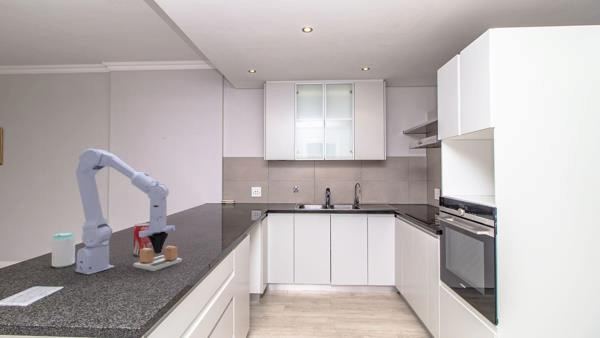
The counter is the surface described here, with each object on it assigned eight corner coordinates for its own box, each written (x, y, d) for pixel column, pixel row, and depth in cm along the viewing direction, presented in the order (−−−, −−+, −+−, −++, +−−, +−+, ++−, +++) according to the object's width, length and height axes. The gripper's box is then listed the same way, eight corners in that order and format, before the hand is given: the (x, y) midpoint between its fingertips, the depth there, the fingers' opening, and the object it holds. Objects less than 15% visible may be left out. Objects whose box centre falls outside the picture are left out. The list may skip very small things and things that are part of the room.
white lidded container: (62, 269, 114) (62, 236, 114) (46, 267, 115) (46, 235, 115) (79, 263, 120) (79, 232, 121) (64, 262, 122) (64, 231, 122)
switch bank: (153, 271, 111) (153, 267, 111) (133, 266, 116) (133, 263, 116) (181, 261, 123) (181, 258, 123) (162, 258, 128) (162, 254, 128)
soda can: (155, 252, 137) (155, 222, 137) (145, 256, 130) (145, 225, 130) (140, 251, 138) (140, 222, 138) (129, 256, 131) (129, 225, 131)
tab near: (171, 260, 119) (171, 247, 119) (164, 258, 121) (164, 246, 121) (177, 258, 122) (177, 246, 122) (170, 257, 124) (170, 245, 124)
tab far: (146, 262, 116) (146, 250, 116) (139, 261, 118) (139, 248, 118) (153, 260, 119) (153, 248, 119) (146, 259, 120) (146, 247, 120)
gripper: (148, 220, 108) (148, 259, 108) (181, 215, 121) (180, 249, 121) (135, 218, 111) (134, 256, 111) (168, 213, 124) (167, 247, 124)
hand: (157, 252), depth 116 cm, fingers closed
